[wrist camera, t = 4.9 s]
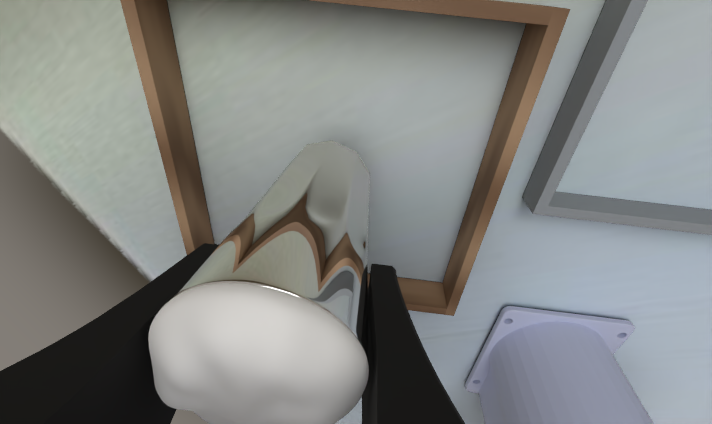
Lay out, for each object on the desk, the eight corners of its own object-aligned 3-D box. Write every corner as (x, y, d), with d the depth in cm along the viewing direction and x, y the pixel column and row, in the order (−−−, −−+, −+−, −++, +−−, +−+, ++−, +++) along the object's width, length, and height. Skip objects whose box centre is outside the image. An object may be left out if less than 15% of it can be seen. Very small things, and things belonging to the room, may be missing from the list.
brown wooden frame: (448, 289, 21) (453, 315, 19) (209, 259, 21) (194, 283, 20) (546, 6, 12) (570, 9, 11) (146, -36, 13) (109, -39, 11)
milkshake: (277, 228, 16) (137, 506, 7) (272, 114, 12) (20, 382, 4) (375, 243, 15) (341, 546, 7) (395, 132, 12) (375, 447, 4)
